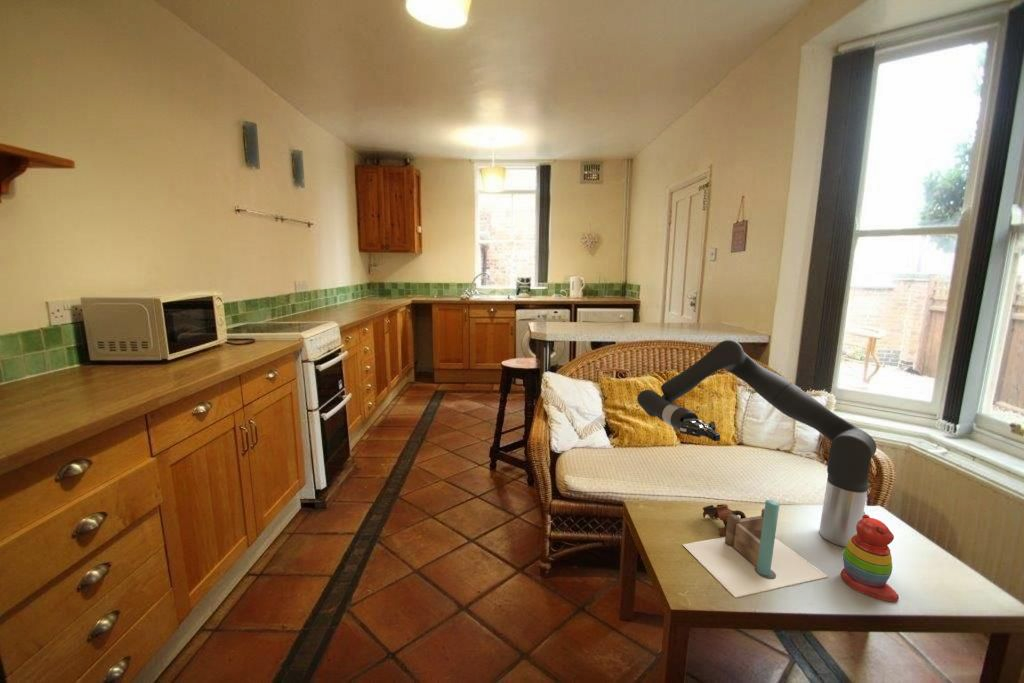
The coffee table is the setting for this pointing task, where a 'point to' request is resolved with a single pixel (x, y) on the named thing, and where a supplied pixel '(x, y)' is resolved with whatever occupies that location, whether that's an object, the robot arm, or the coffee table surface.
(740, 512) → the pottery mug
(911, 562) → the coffee table surface
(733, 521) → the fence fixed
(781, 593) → the coffee table surface
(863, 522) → the stacking bear
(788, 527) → the coffee table surface
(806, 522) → the coffee table surface
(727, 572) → the card
